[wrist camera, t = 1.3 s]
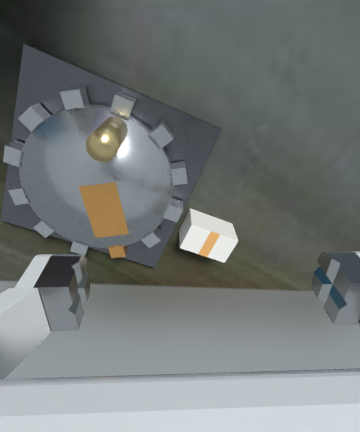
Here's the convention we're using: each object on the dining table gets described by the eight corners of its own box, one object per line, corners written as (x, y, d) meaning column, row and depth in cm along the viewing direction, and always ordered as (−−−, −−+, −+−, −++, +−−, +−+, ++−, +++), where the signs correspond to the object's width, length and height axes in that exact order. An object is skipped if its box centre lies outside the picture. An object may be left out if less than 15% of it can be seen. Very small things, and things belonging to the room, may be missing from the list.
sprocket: (215, 133, 30) (227, 158, 23) (152, 265, 38) (147, 312, 31) (26, 52, 26) (-28, 51, 19) (4, 219, 34) (-39, 261, 27)
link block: (232, 223, 37) (238, 241, 34) (220, 243, 39) (224, 262, 35) (189, 207, 36) (191, 224, 32) (179, 229, 37) (179, 248, 34)
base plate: (219, 127, 31) (221, 130, 30) (155, 263, 40) (154, 267, 39) (28, 43, 27) (23, 43, 26) (4, 216, 36) (0, 220, 35)
